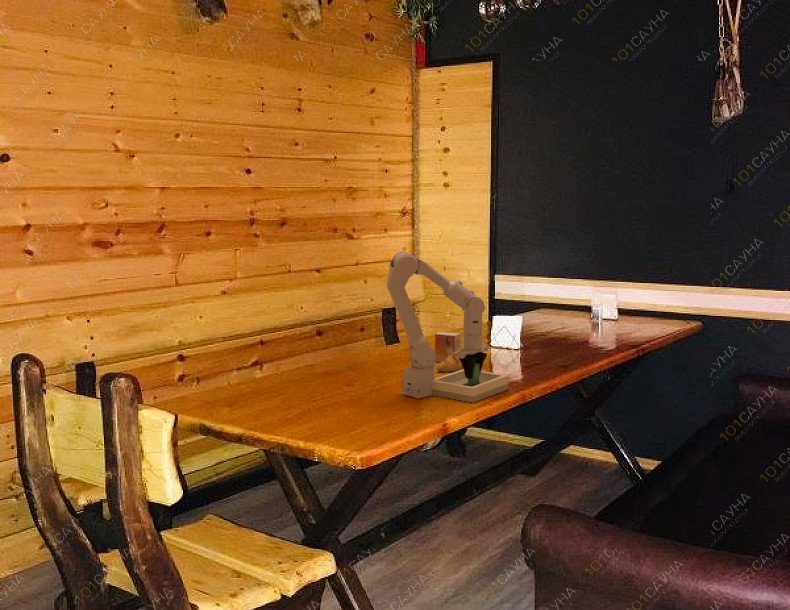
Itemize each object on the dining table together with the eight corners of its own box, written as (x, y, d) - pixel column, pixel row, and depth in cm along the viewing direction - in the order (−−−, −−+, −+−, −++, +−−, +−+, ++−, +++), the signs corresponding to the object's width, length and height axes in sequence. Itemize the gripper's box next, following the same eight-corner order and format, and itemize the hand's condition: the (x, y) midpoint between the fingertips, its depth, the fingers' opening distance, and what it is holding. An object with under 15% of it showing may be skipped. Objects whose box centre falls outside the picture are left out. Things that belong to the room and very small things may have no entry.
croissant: (443, 384, 280) (450, 366, 276) (425, 366, 286) (432, 348, 282) (486, 373, 293) (494, 355, 289) (468, 356, 299) (475, 339, 295)
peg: (465, 386, 256) (465, 364, 255) (470, 383, 259) (470, 362, 258) (476, 387, 254) (476, 365, 253) (481, 385, 257) (481, 363, 256)
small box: (434, 362, 298) (434, 333, 296) (440, 359, 303) (440, 331, 301) (454, 364, 294) (454, 335, 292) (461, 361, 299) (461, 332, 297)
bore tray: (473, 403, 242) (473, 388, 242) (429, 394, 252) (429, 380, 252) (507, 389, 258) (508, 375, 257) (465, 382, 268) (465, 368, 267)
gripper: (470, 339, 246) (470, 383, 248) (496, 332, 257) (496, 374, 259) (451, 336, 250) (451, 380, 252) (477, 329, 262) (477, 371, 264)
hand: (472, 377), depth 256 cm, fingers closed on peg, 4 cm apart
